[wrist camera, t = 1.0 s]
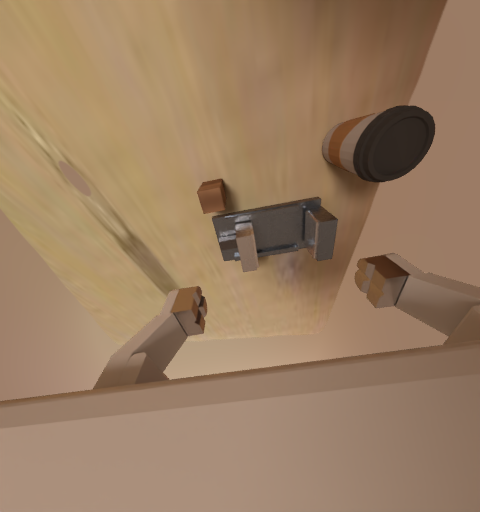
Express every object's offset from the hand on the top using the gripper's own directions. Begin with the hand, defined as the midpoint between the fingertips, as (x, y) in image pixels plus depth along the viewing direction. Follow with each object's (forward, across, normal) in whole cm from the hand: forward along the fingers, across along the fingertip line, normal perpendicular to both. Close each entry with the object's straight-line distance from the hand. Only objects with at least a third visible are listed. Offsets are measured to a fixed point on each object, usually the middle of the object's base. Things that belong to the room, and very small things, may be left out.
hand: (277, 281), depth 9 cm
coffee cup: (+32, -18, -2) cm, 37 cm away
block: (+32, +7, +1) cm, 33 cm away
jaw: (+31, +4, +13) cm, 33 cm away
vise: (+32, -3, +13) cm, 35 cm away
